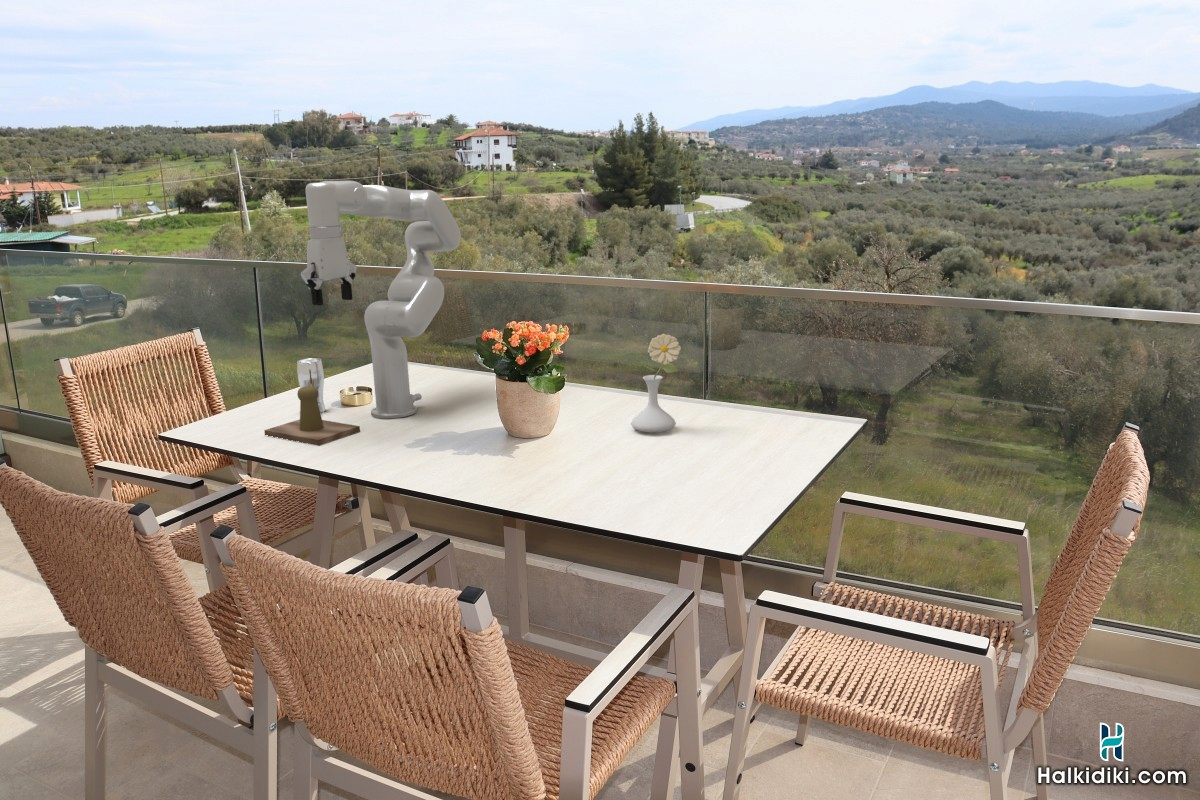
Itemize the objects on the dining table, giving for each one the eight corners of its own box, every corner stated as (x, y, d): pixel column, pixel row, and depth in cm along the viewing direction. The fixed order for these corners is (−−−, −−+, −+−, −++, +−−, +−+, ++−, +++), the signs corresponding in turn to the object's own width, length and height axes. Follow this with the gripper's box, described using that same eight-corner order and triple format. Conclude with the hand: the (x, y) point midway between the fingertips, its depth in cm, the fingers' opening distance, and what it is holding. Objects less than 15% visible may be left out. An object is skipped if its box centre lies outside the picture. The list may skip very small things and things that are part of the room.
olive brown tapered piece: (316, 431, 234) (312, 390, 231) (295, 431, 235) (290, 389, 232) (328, 425, 239) (323, 384, 237) (307, 424, 241) (302, 384, 238)
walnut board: (307, 422, 248) (306, 417, 248) (360, 431, 238) (359, 426, 238) (265, 435, 237) (264, 430, 236) (318, 445, 227) (318, 439, 226)
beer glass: (296, 414, 258) (290, 362, 254) (312, 408, 264) (307, 357, 260) (316, 416, 255) (311, 363, 251) (332, 409, 261) (327, 358, 258)
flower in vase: (625, 434, 229) (623, 336, 223) (638, 422, 240) (637, 328, 234) (675, 438, 225) (674, 338, 219) (687, 426, 235) (686, 330, 229)
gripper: (341, 230, 235) (348, 297, 239) (287, 236, 221) (295, 306, 225) (362, 231, 231) (368, 298, 235) (308, 236, 217) (316, 308, 221)
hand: (332, 302), depth 230 cm, fingers open, 9 cm apart
